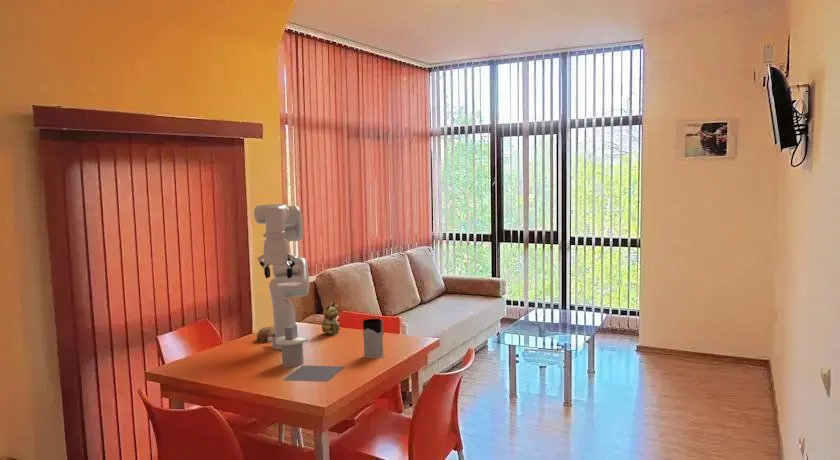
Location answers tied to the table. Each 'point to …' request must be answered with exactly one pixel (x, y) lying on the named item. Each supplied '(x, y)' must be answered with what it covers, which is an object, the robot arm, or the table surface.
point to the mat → (314, 373)
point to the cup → (292, 355)
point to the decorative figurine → (330, 320)
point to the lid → (291, 337)
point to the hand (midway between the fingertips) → (278, 277)
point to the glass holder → (373, 338)
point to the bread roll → (265, 334)
